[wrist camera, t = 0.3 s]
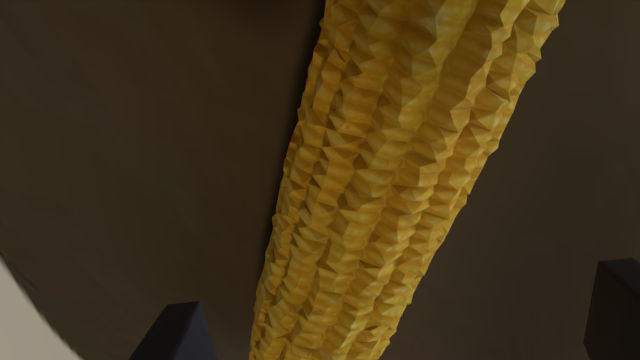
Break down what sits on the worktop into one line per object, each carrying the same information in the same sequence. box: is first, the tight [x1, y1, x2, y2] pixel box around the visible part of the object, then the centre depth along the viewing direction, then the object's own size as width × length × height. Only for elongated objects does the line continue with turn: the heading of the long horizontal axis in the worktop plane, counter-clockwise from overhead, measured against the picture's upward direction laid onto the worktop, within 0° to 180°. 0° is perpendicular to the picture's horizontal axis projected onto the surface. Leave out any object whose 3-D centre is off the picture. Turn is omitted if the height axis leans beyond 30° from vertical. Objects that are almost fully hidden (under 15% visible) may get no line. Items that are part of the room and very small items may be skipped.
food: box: [249, 0, 566, 360], centre depth 17 cm, size 21×6×6 cm, turn 167°
